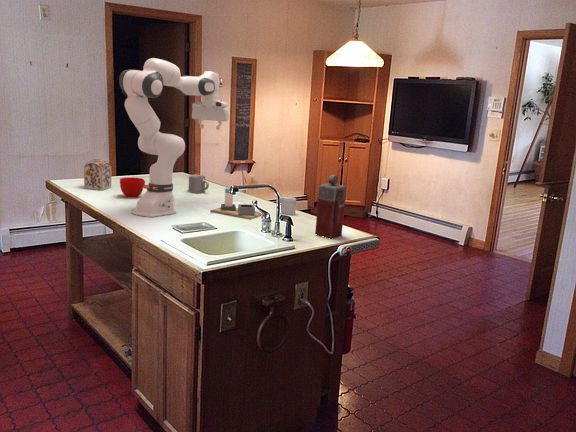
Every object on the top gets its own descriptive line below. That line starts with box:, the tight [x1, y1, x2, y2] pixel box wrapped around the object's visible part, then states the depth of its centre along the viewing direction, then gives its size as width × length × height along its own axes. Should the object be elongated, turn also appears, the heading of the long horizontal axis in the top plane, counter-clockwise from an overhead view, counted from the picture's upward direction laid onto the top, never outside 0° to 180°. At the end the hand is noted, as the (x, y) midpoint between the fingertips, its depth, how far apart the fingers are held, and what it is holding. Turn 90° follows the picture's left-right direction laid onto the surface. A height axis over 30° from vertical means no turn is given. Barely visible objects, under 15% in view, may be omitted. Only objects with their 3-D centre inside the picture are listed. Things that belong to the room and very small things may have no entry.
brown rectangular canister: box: [314, 174, 347, 240], centre depth 237 cm, size 9×11×28 cm
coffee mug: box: [188, 174, 210, 195], centre depth 319 cm, size 13×10×10 cm
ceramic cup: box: [119, 176, 146, 199], centre depth 295 cm, size 13×17×10 cm
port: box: [237, 203, 256, 216], centre depth 268 cm, size 8×8×4 cm
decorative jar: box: [83, 157, 112, 191], centre depth 310 cm, size 12×12×18 cm
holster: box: [220, 203, 237, 211], centre depth 276 cm, size 8×8×2 cm
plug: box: [224, 187, 234, 207], centre depth 275 cm, size 4×4×11 cm
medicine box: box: [279, 196, 297, 216], centre depth 278 cm, size 8×4×9 cm, turn 74°
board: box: [209, 206, 262, 220], centre depth 272 cm, size 14×24×1 cm, turn 63°
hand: (209, 128), depth 283 cm, fingers open, 8 cm apart
